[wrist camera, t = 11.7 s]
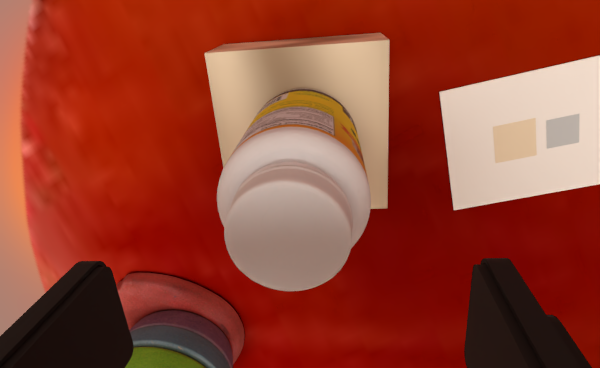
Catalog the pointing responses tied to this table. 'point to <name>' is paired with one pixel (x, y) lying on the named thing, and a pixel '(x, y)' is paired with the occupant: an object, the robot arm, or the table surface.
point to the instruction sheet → (523, 134)
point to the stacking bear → (178, 323)
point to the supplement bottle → (295, 192)
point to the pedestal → (307, 75)
